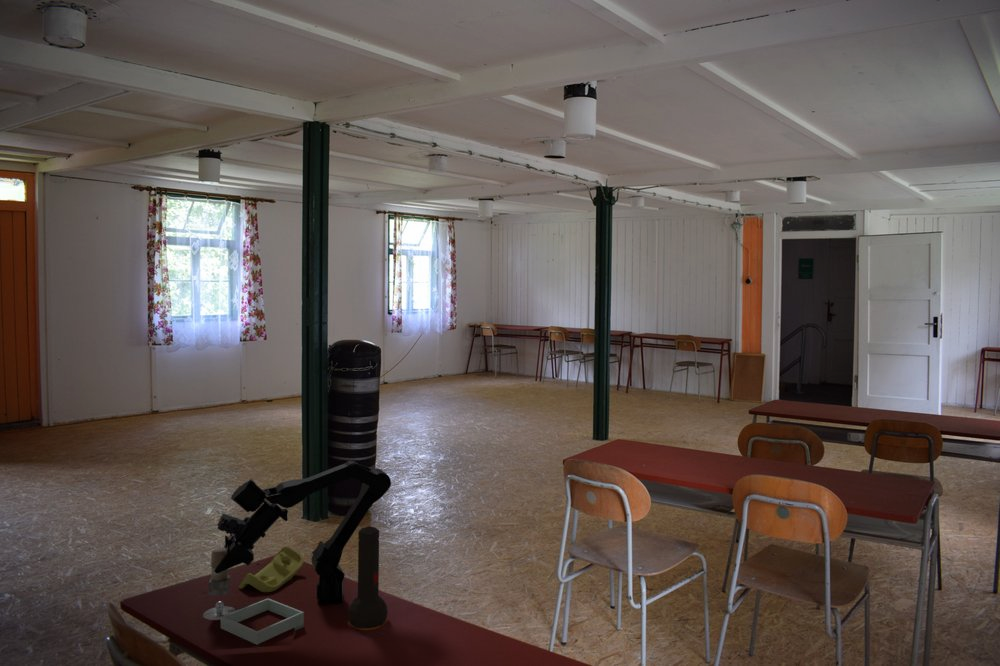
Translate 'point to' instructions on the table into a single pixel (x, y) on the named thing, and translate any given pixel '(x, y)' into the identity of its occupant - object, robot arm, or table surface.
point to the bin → (293, 620)
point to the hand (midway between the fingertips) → (215, 569)
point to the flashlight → (368, 583)
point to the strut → (218, 574)
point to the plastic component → (275, 571)
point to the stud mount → (218, 611)
